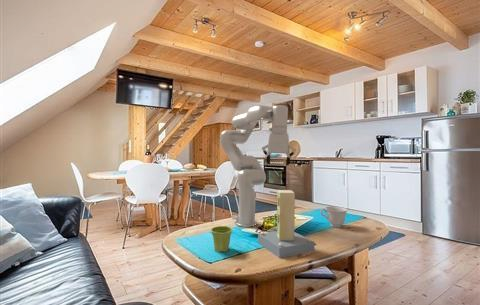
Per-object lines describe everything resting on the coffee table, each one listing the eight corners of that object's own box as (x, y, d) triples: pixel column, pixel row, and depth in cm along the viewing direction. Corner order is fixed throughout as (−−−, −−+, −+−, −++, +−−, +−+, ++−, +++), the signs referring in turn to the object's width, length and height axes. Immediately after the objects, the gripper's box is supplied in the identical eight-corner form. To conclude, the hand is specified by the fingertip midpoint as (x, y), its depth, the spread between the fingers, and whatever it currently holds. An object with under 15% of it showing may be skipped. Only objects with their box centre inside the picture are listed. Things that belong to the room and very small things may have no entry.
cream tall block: (274, 234, 120) (275, 189, 120) (290, 234, 120) (291, 190, 120) (277, 240, 112) (278, 192, 112) (294, 241, 112) (295, 193, 112)
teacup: (318, 222, 156) (318, 205, 156) (343, 223, 154) (344, 206, 154) (321, 228, 144) (322, 210, 144) (349, 229, 142) (350, 211, 142)
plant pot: (224, 255, 105) (224, 234, 105) (206, 250, 110) (206, 230, 110) (236, 248, 113) (236, 228, 113) (219, 243, 118) (219, 224, 118)
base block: (279, 257, 104) (279, 245, 104) (257, 242, 120) (258, 231, 120) (314, 251, 111) (314, 239, 111) (289, 237, 128) (290, 227, 128)
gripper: (260, 129, 128) (259, 164, 129) (295, 130, 122) (294, 166, 122) (264, 130, 135) (263, 163, 136) (298, 131, 129) (296, 165, 129)
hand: (278, 164), depth 129 cm, fingers open, 9 cm apart
